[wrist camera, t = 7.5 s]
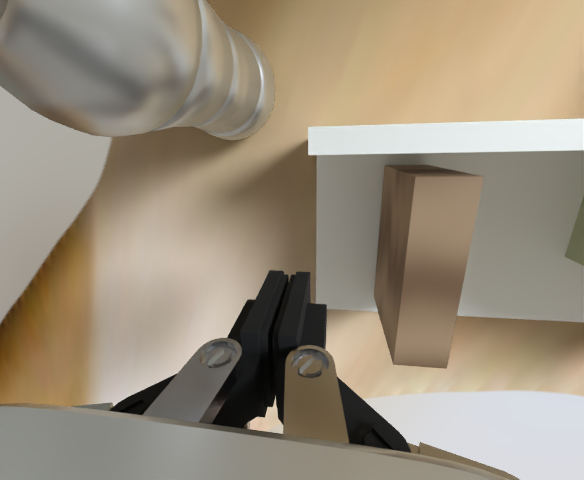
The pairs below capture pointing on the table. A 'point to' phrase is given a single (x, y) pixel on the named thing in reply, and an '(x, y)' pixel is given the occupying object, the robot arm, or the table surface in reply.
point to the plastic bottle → (134, 66)
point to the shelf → (489, 220)
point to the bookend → (423, 258)
